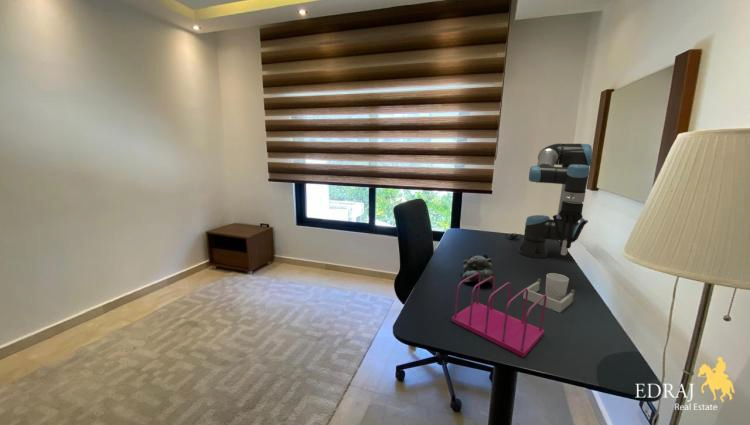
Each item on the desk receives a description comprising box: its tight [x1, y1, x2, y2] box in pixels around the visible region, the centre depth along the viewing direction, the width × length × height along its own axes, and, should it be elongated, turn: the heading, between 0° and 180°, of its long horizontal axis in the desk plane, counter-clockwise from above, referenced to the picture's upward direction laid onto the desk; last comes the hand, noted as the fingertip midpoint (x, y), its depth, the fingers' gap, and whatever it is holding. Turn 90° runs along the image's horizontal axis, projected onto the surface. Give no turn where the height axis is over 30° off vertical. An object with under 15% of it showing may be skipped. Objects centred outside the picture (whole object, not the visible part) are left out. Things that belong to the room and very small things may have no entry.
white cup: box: [544, 272, 570, 301], centre depth 122 cm, size 8×8×10 cm
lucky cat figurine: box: [461, 254, 495, 283], centre depth 138 cm, size 15×12×14 cm
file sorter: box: [451, 273, 547, 358], centre depth 101 cm, size 17×25×16 cm
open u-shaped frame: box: [522, 278, 576, 313], centre depth 122 cm, size 14×14×5 cm
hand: (563, 254), depth 130 cm, fingers closed
